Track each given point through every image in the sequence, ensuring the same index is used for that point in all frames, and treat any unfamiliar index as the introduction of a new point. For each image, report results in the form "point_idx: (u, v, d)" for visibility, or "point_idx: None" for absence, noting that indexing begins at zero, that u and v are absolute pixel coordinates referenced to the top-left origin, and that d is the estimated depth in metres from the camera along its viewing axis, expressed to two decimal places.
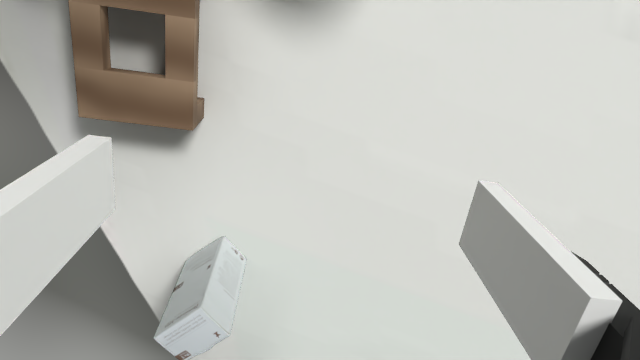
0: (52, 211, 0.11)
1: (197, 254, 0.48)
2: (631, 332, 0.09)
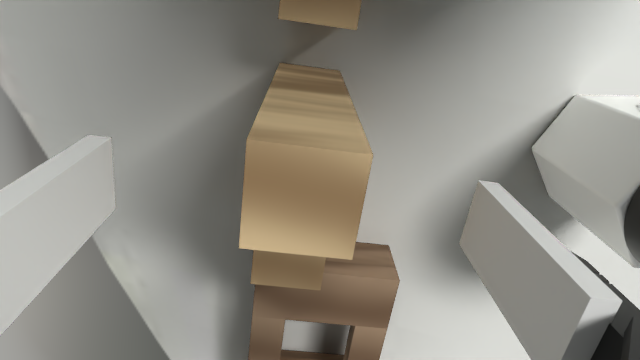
0: (52, 211, 0.11)
1: None
2: (631, 332, 0.09)
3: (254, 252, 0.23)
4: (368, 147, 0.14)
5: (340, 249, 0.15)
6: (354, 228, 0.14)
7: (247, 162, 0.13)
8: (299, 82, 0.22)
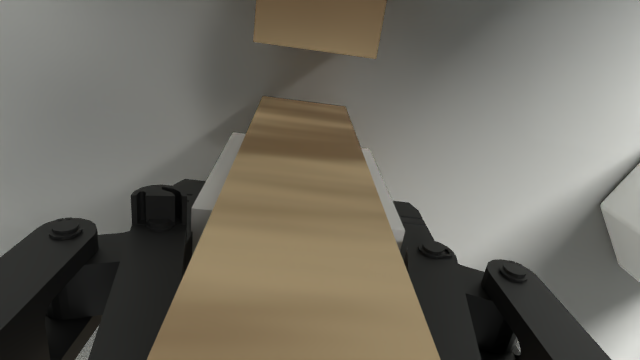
0: None
1: None
2: (408, 262, 0.10)
3: None
4: (432, 348, 0.06)
5: None
6: None
7: None
8: (288, 136, 0.15)
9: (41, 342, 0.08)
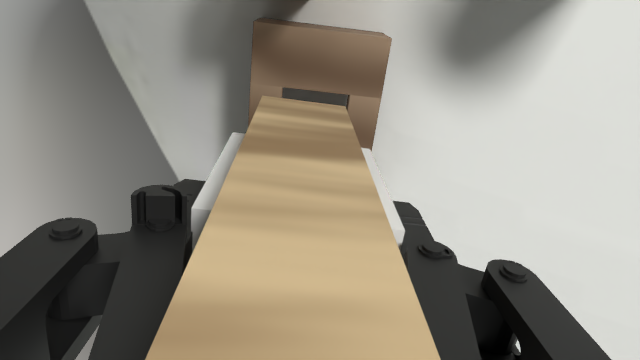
0: None
1: None
2: (408, 262, 0.10)
3: None
4: (432, 348, 0.06)
5: None
6: None
7: None
8: (287, 135, 0.15)
9: (42, 342, 0.08)
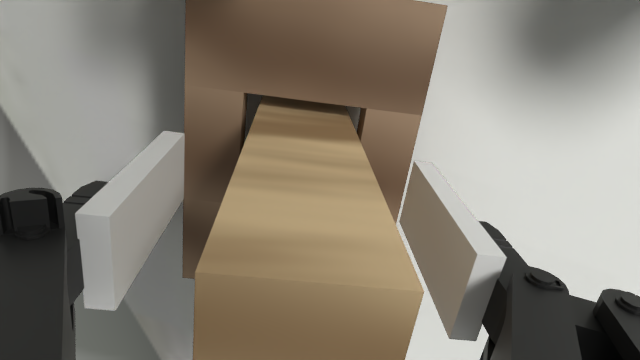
0: (150, 197, 0.12)
1: None
2: (512, 288, 0.09)
3: None
4: (411, 269, 0.08)
5: None
6: None
7: (199, 308, 0.07)
8: (291, 121, 0.17)
9: None
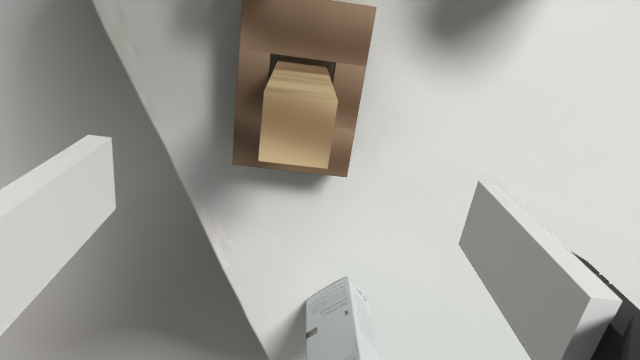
0: (52, 211, 0.11)
1: (321, 296, 0.46)
2: (631, 332, 0.09)
3: None
4: (336, 97, 0.23)
5: (320, 161, 0.24)
6: (328, 147, 0.24)
7: (264, 105, 0.23)
8: (294, 67, 0.32)
9: None
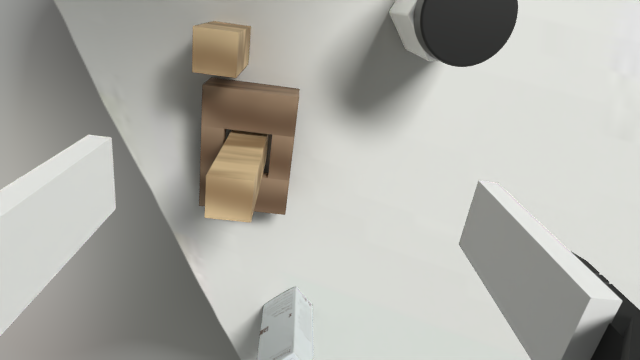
0: (52, 211, 0.11)
1: (274, 301, 0.59)
2: (631, 332, 0.09)
3: (193, 48, 0.38)
4: (254, 177, 0.36)
5: (245, 217, 0.37)
6: (250, 209, 0.36)
7: (206, 184, 0.35)
8: (240, 139, 0.44)
9: None
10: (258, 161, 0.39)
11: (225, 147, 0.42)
